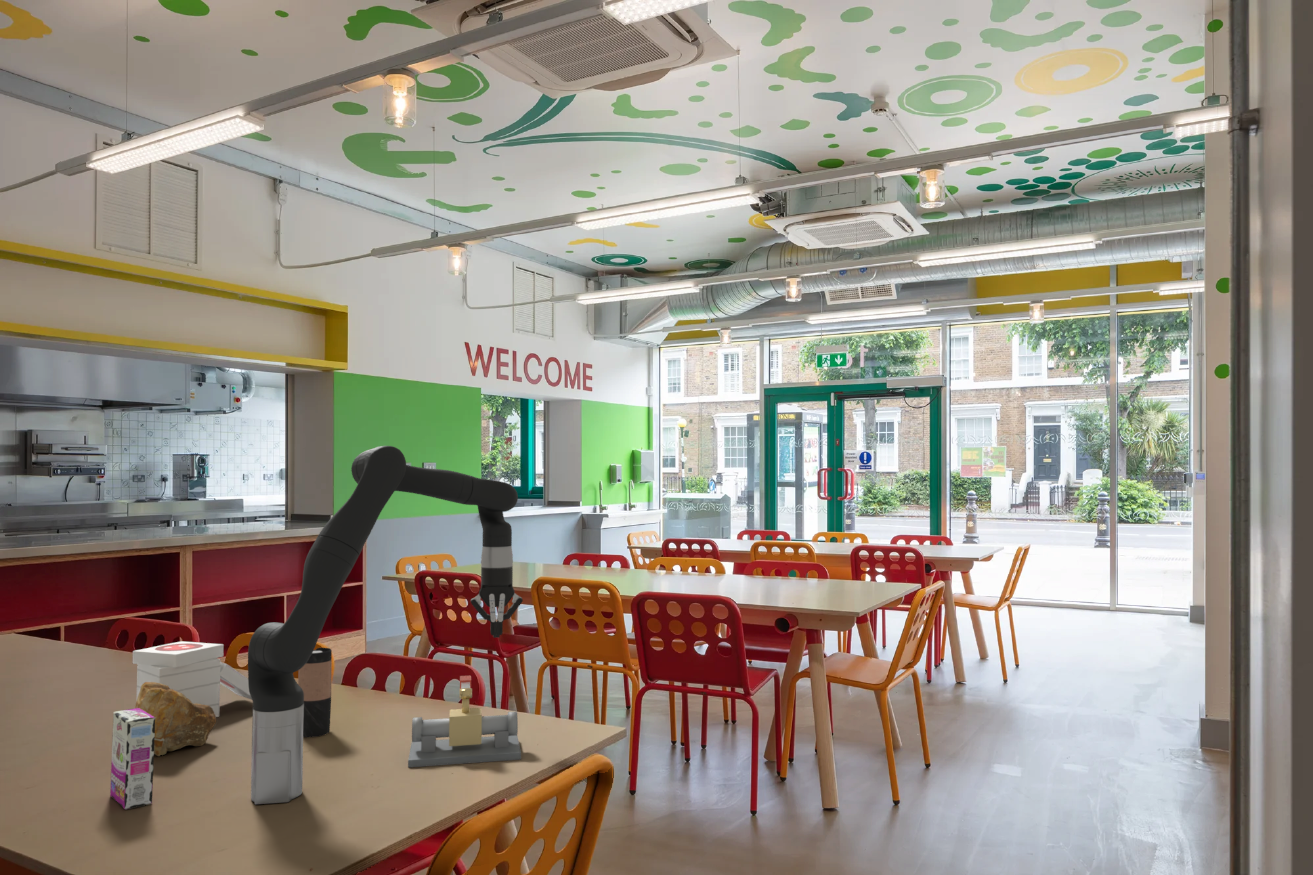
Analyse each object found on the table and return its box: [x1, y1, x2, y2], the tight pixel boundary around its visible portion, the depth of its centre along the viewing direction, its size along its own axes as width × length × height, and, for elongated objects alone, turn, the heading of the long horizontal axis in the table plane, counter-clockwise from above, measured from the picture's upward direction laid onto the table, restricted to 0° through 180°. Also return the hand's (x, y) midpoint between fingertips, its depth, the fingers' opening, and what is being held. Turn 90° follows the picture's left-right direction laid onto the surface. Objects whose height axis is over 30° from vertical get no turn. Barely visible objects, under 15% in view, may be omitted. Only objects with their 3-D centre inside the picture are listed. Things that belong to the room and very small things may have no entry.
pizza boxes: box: [132, 640, 252, 718], centre depth 234 cm, size 19×30×18 cm, turn 139°
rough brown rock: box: [134, 682, 217, 757], centre depth 204 cm, size 23×17×15 cm
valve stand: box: [407, 698, 522, 768], centre depth 198 cm, size 14×24×12 cm, turn 102°
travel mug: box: [297, 647, 333, 738], centre depth 215 cm, size 8×8×20 cm
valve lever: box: [458, 675, 473, 700], centre depth 204 cm, size 16×3×2 cm, turn 12°
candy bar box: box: [109, 707, 155, 811], centre depth 170 cm, size 11×5×16 cm, turn 45°
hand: (496, 636), depth 212 cm, fingers closed
